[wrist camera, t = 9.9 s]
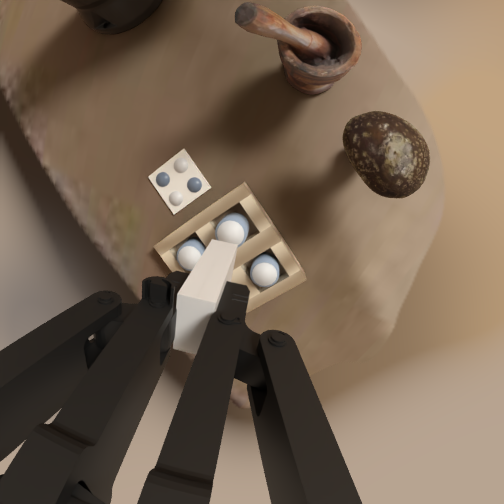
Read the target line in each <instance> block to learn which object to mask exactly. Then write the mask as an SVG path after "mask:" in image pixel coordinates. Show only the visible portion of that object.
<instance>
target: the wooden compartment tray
mask: <svg viewBox="0 0 504 504" xmlns="http://www.w3.org/2000/svg"><path fill="white" fill-rule="evenodd" d="M229 213H240V214H242V215H243V216H245V217H246V219H247V220H248V222H249V232H248V235H247V237H246V240H245V242H244V243H243V244H242V245H241V246H240V247H238V248H237V253H236V258H235V263H234V269H233V274H232V279H231V282H233V283H238V284H243V285H247V287H248V288H249V290H250V295H249V300H248V305H247V310H246V313H248V312H250V311H251V310H253V309H255V308H257V307H259V306H261V305H263V304H264V303H266V302H268V301H270V300H272V299H273V298H275V297H277V296H279V295H281V294H282V293H284V292H286V291H288V290H290V289H291V288H293V287H295V286H297V285H298V284H300V283H302V282H304V281H305V280H306V275H305V271H304V270H303V268H302V266H301V265H300V263H299V262H298V260H297V259H296V257H295V256H294V254H293V252H292V251H291V249H290V248H289V246H288V245H287V243H286V242H285V240H284V239H283V237H282V236H281V234H280V233H279V231H278V230H277V228H276V227H275V225H274V224H273V222H272V221H271V219H270V218H269V216H268V215H267V213H266V212H265V210H264V209H263V207H262V206H261V204H260V203H259V201H258V200H257V198H256V197H255V195H254V194H253V192H252V191H251V189H250V188H249V186H248V185H247V183H246V182H244V183H242V184H241V185H239V186H238V187H236V188H235V189H233V190H232V191H230V192H229V193H228V194H226V195H225V196H223V197H222V198H220V199H219V200H217V201H216V202H214V203H213V204H211V205H210V206H209V207H207V208H206V209H204V210H203V211H201V212H200V213H199V214H197V215H196V216H194V217H193V218H191V219H190V220H189V221H187V222H186V223H184V224H183V225H182V226H180V227H179V228H177V229H176V230H175V231H173V232H172V233H171V234H169V235H168V236H166V237H165V238H164V239H162V240H161V241H160V242H158V243H157V244H156V245H155V246H154V248H155V249H156V251H157V252H158V253H159V255H160V256H161V258H162V259H163V260H164V262H165V263H166V264H167V266H168V267H169V268H170V270H171V271H172V272H174V271H176V270H177V271H181V272H185V273H189V274H190V273H191V271H188V270H185V269H184V268H182V267H181V266H180V265H179V263H178V261H177V251H178V249H179V248H180V247H181V246H182V245H183V244H184V243H185V242H186V241H187V240H188V239H189V238H192V237H199V238H200V239H201V241H202V242H203V243H204V245H205V246H206V248H207V246H208V245H209V243H210V242H211V240H212V239H214V240H217V239H216V237H215V229H216V227H217V225H218V223H219V222H220V221H221V220H222V219H223V217H224V216H226V215H227V214H229ZM262 252H269V253H272V254H274V255H275V256H276V257H277V258H278V260H279V278H278V280H277V282H276V283H275V284H274V285H272V286H270V287H260V286H258V285H256V284H255V283H254V282H253V281H252V279H251V277H250V270H251V266H252V262H253V259H254V258H255V257H256V256H257V255H259V254H261V253H262Z"/></svg>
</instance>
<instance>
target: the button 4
mask: <svg viewBox="0 0 504 504" xmlns="http://www.w3.org/2000/svg"><path fill="white" fill-rule="evenodd" d="M250 277H251V279H252V281H253V282H254V283H255V284H256V285H258V286H260V287H270V286H272V285H274V284H275V283H276V282H277V280H278V278H279V260H278V258H277V257H276V256H275V255H274V254H272V253H269V252H262V253H261V254H259V255H257V256H256V257H255V258H254V259H253V262H252V266H251V270H250Z"/></svg>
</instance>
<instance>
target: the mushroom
mask: <svg viewBox="0 0 504 504" xmlns="http://www.w3.org/2000/svg"><path fill="white" fill-rule="evenodd" d="M343 145H344V148H345V151H346V154H347V156H348V158H349V160H350V163H351V164H352V165H353V167H354V169H355V170H356V172H357V173H358V175H359V176H360V177H361V178H362V180H363V181H364V182H365V184H366V185H367V186H368V187H369V188H370V189H371V190H372V191H374V192H375V193H377V194H379V195H381V196H384V197H388V198H405V197H407V196H409V195H411V194H413V193H414V192H415V191H417V190H418V189H419V188H420V187H421V185H422V184H423V182H424V181H425V178H426V175H427V173H428V170H429V164H430V155H429V149H428V146H427V144H426V142H425V140H424V138H423V137H422V135H421V134H420V133H419V132H418V131H417V130H416V129H415V128H414V127H413V126H412V125H411V124H410V123H408V122H407V121H405V120H403V119H402V118H400V117H398V116H396V115H393V114H390V113H386V112H381V111H373V112H368V113H365V114H362V115H358V116H355V117H353V118H352V119H350V121H349V122H348V123H347V124H346V126H345V129H344V133H343Z"/></svg>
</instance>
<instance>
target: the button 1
mask: <svg viewBox="0 0 504 504" xmlns="http://www.w3.org/2000/svg"><path fill="white" fill-rule="evenodd" d="M205 249H206V246H205V245H204V243H203V242H202V241H201V239H200V238H199V237H192V238H189V239H188V240H187V241H186V242H185V243H184V244H183V245H182V246H181V247H180V248H179V249H178V251H177V261H178V263H179V265H180V266H181V267H182V268H184V269H185V270H188V271H192V270H193V268H194V267H195V265H196V263H197V262H198V260H199V259H200V257H201V256H202V254H203V253H204V251H205Z"/></svg>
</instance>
